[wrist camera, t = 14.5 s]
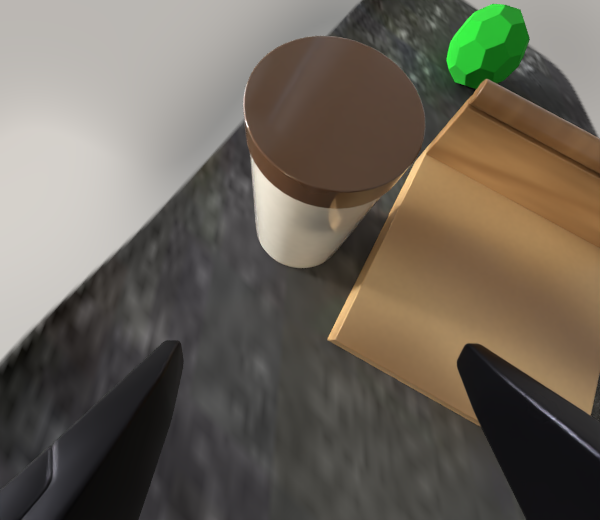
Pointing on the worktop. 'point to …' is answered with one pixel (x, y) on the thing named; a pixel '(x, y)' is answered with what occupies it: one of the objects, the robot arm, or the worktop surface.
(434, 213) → the wooden ramp
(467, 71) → the polyhedron
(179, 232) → the worktop surface
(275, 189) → the cylinder
